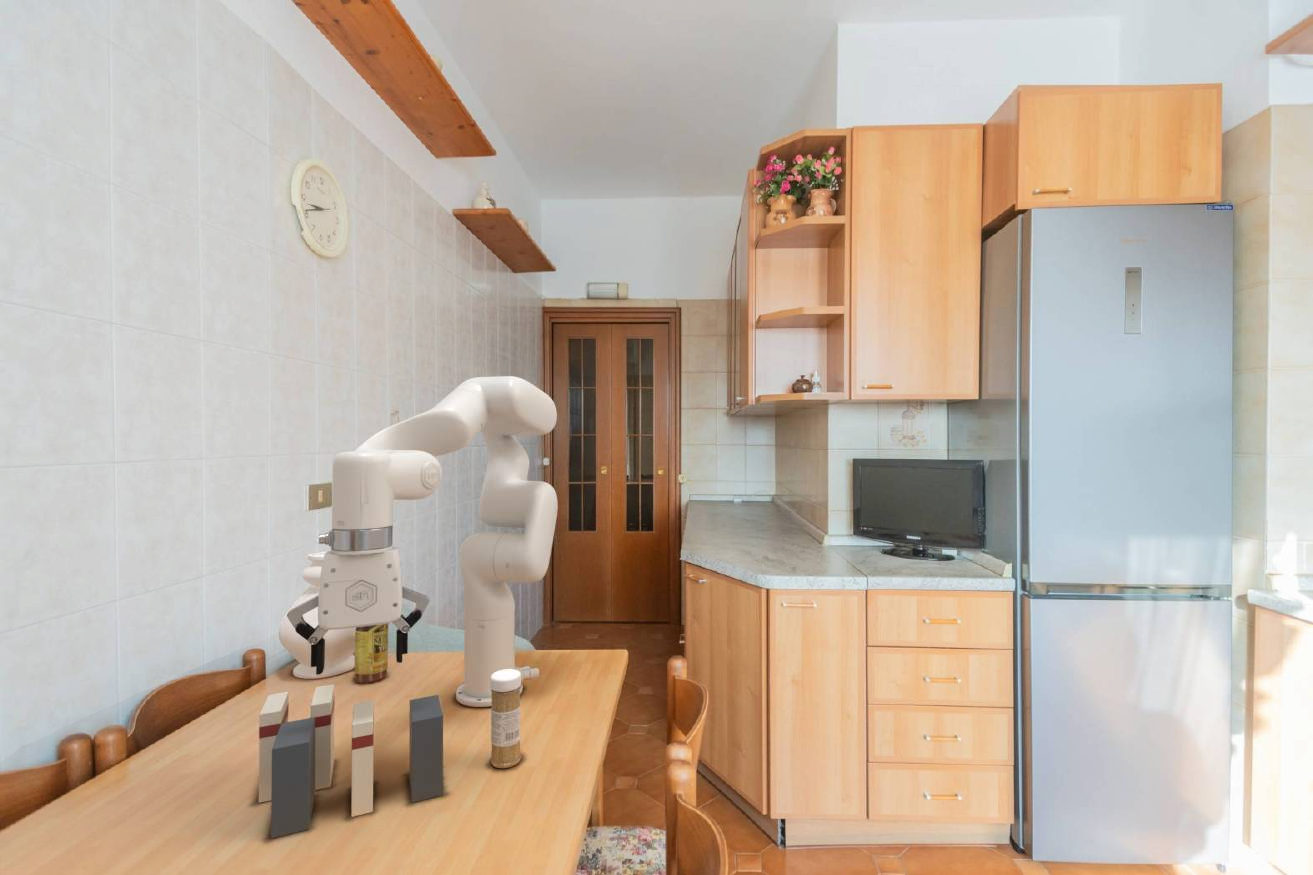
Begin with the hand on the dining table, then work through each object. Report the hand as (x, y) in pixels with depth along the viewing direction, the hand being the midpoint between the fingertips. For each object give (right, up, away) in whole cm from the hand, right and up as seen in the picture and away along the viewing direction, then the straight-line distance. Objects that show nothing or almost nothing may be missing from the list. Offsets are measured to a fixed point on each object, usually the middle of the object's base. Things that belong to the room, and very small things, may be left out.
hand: (360, 665), depth 78 cm
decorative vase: (-32, -20, +47) cm, 61 cm away
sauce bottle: (-19, -20, +41) cm, 50 cm away
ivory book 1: (-14, -19, +3) cm, 23 cm away
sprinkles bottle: (+17, -19, +9) cm, 27 cm away
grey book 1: (-7, -18, -4) cm, 20 cm away
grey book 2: (+8, -19, +3) cm, 20 cm away
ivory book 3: (0, -18, 0) cm, 18 cm away
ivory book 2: (-9, -19, +6) cm, 21 cm away
